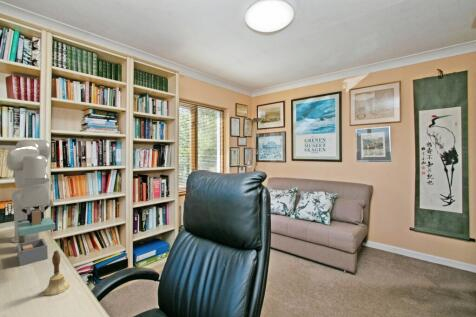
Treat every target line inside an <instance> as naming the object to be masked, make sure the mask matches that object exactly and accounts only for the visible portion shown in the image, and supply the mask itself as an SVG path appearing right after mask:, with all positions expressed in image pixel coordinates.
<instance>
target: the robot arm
mask: <svg viewBox="0 0 476 317" xmlns="http://www.w3.org/2000/svg"><path fill="white" fill-rule="evenodd" d="M51 150H52V147H51V143H50V142H49V141H48V140H45V139H21V140H19V141H18V142H17V143H16V145H15V148H12V149H9V150H8V152H7V155H6V160H5V161H6V167H7V169H8V170H9V171H12V172H13V173H14V185H15V187H16V188H18V189H17V190H15V191H13V192H12V193H11V202H12V207H13V216H14V217H13V218H14V220H13V222H14V225H13V226H14V237H13V238H11V243H14V244H15V243H17V244H18V243H19V238H18V229H17V223H18V221H20V220H25V219H27V221H29V222H30V223H32V214H31V212H30V211H31V210H33V209H35V208H36V207H37V208H38V207H40V208H39V209H40V211H41V221H42V219H44V218H45V212H46V211H47V210H48V209H49V208H50V207H53V206H54V204H55V203H54V202H53V201H52V200H51V198H50V178H49V177H50V176H49V174H48V173H47V172H46V168H47V167H48V160H49V158H50V155H51V152H52V151H51Z"/></svg>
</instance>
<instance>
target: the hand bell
mask: <svg viewBox="0 0 476 317" xmlns="http://www.w3.org/2000/svg"><path fill="white" fill-rule="evenodd" d="M51 261H52V264H53V275H51V276H50V278H49V281H48V284H47V287H46V288H45V289H44V291H43V292H42V293H43V295H44V296H47V297H51V295H53V296H56V294H57V295H60V294H62V293H64V292H65V290H66V291H67V290H68V289H69V288H70V283H69V282H67V281H66V279H65V275H64V274H63V273H60V263H61V254H60V252H59V250H58V249H57V250H54V251H53V254H52V258H51ZM59 293H60V294H59Z"/></svg>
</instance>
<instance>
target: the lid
mask: <svg viewBox="0 0 476 317" xmlns="http://www.w3.org/2000/svg"><path fill="white" fill-rule="evenodd" d="M40 210H41V209H40V208H34V209H33V210H31V211H30V212H31V214H32V223H30V222H29V221H25V222H19V223H17V229H18V232H19V235H20V236H23V235H28V234H33V233H38V232H39V233H42V232H47V231H52V230H56V223H55V222H54V220H53V219H51V217H44V219H42V221H41V211H40Z"/></svg>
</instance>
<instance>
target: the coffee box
mask: <svg viewBox="0 0 476 317" xmlns="http://www.w3.org/2000/svg"><path fill="white" fill-rule="evenodd" d="M25 221H27V219H25V220H20V221H18V223H19V222H25ZM18 238H19V242H18V244H19V243H24V242H28V241H33V240H37V239H40V232H38V233H33V234H28V235H23V236H20V235H19V232H18Z"/></svg>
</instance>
